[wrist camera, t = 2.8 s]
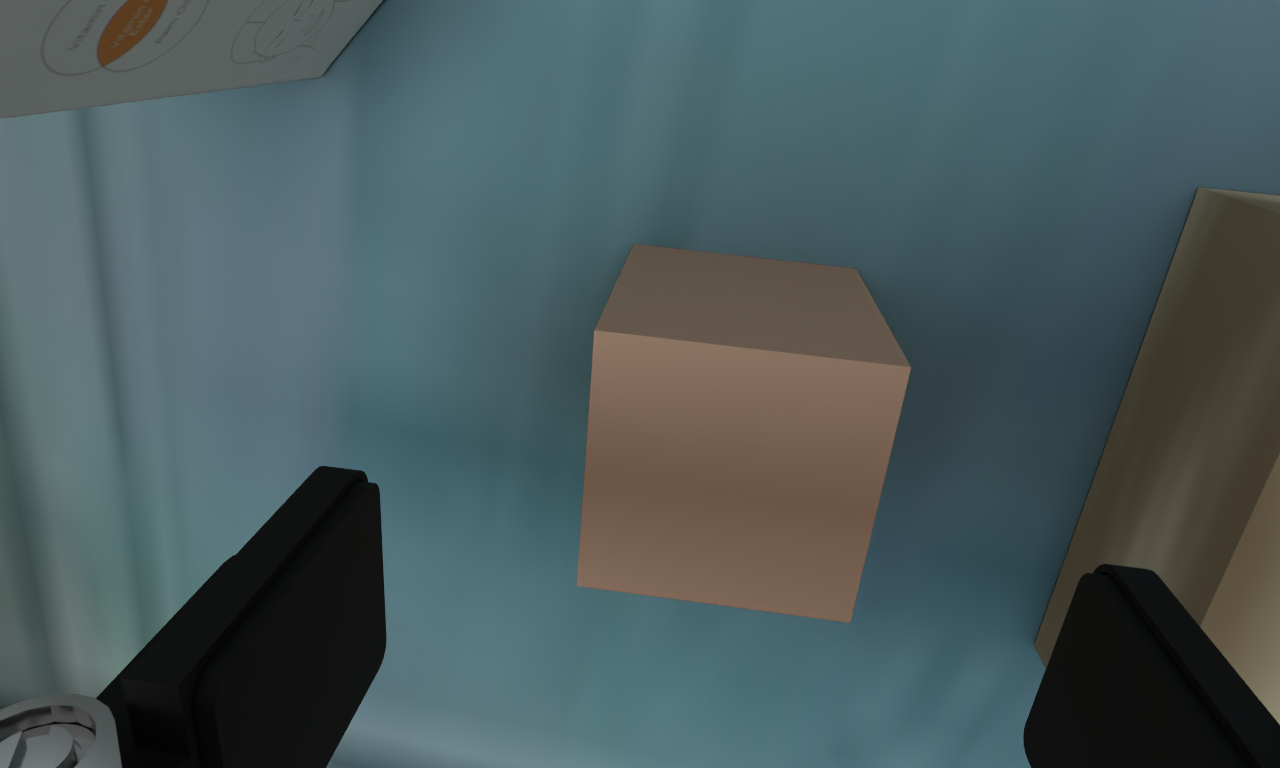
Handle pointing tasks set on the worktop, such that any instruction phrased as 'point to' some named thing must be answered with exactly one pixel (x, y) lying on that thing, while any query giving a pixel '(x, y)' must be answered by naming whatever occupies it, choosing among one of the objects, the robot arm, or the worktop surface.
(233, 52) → the small box
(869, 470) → the terracotta block
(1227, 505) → the maple base block
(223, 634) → the robot arm
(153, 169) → the worktop surface
